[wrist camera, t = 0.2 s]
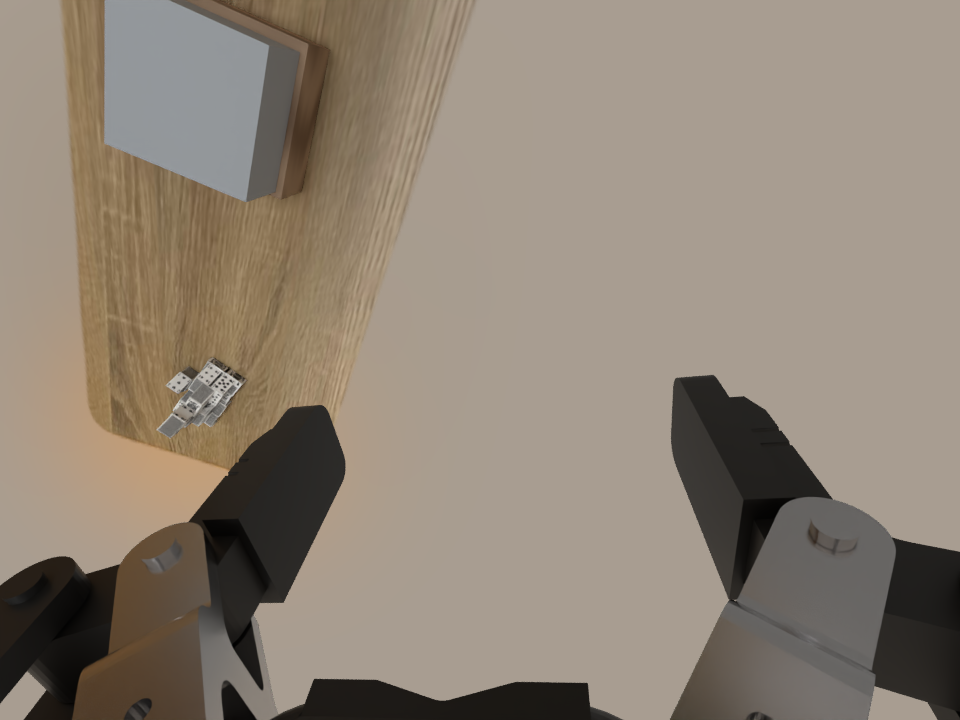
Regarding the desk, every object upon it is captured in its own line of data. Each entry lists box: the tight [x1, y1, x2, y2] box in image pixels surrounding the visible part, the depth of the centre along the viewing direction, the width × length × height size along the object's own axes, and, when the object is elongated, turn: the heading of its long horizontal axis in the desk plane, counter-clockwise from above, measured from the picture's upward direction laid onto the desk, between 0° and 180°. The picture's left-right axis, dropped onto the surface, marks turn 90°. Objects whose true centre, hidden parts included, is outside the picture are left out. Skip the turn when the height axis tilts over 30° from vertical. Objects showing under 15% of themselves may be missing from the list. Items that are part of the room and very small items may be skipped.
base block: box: [186, 0, 330, 199], centre depth 33 cm, size 10×10×4 cm
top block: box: [105, 0, 300, 202], centre depth 30 cm, size 9×9×4 cm
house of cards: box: [156, 357, 247, 438], centre depth 43 cm, size 9×9×8 cm
